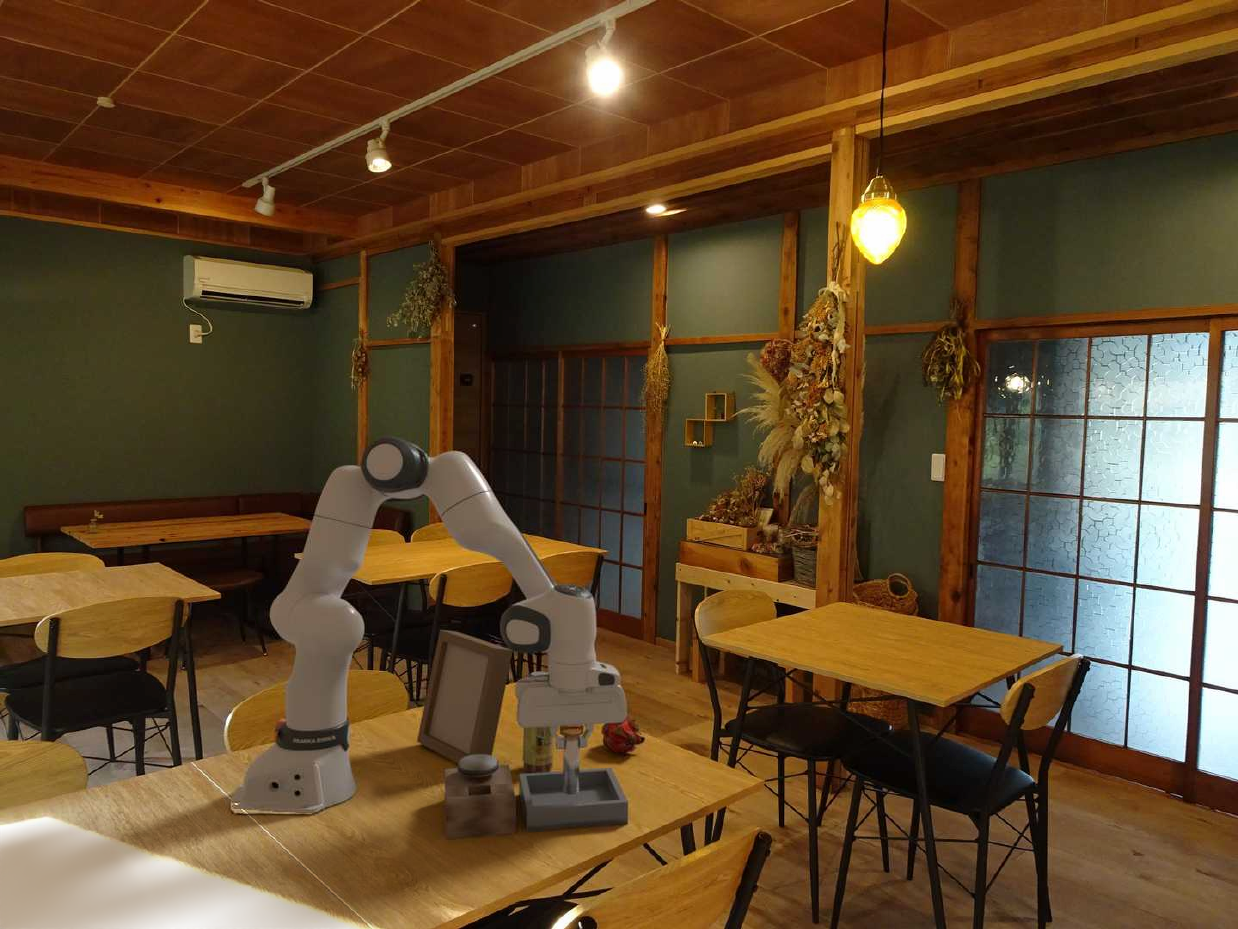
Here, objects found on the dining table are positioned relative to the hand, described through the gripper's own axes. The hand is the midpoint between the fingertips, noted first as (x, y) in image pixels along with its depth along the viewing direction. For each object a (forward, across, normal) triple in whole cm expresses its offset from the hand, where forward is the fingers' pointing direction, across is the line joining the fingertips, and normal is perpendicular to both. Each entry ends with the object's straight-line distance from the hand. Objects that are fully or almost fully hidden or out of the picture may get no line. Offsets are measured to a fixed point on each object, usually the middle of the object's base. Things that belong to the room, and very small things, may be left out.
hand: (571, 747), depth 167 cm
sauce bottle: (+12, -4, +20) cm, 24 cm away
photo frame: (+12, -17, +32) cm, 38 cm away
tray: (+12, 0, 0) cm, 12 cm away
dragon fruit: (+12, +15, +27) cm, 33 cm away
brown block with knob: (+12, -17, 0) cm, 20 cm away
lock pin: (+8, 0, 0) cm, 8 cm away
